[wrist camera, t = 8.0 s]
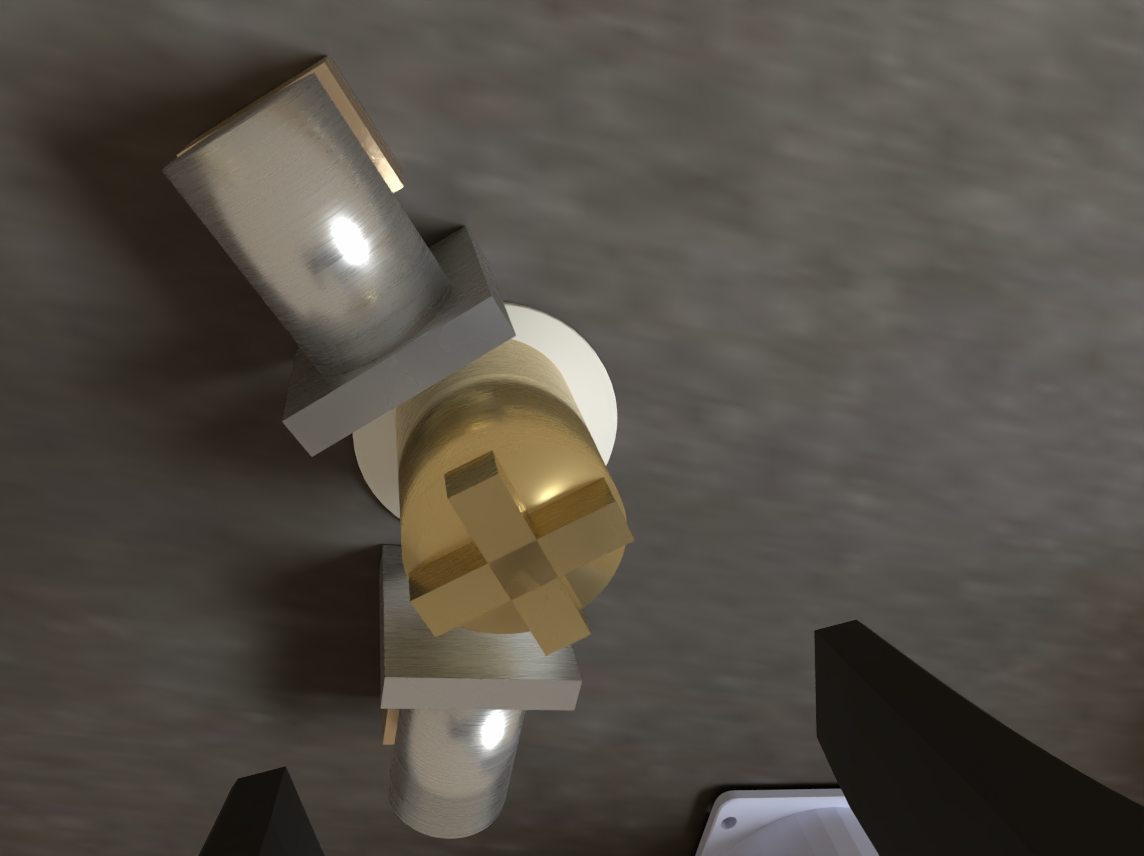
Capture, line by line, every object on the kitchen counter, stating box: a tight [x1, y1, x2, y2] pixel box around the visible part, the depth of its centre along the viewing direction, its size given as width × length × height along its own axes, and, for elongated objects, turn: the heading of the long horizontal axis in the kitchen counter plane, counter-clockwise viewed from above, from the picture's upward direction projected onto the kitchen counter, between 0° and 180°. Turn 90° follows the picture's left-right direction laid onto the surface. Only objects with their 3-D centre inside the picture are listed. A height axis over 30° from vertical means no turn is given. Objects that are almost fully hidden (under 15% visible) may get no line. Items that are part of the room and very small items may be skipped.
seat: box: [353, 302, 617, 519], centre depth 20 cm, size 6×6×1 cm
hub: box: [395, 339, 635, 656], centre depth 18 cm, size 4×4×6 cm
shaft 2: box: [379, 545, 582, 839], centre depth 21 cm, size 5×4×5 cm
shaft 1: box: [162, 55, 516, 457], centre depth 16 cm, size 5×4×5 cm
